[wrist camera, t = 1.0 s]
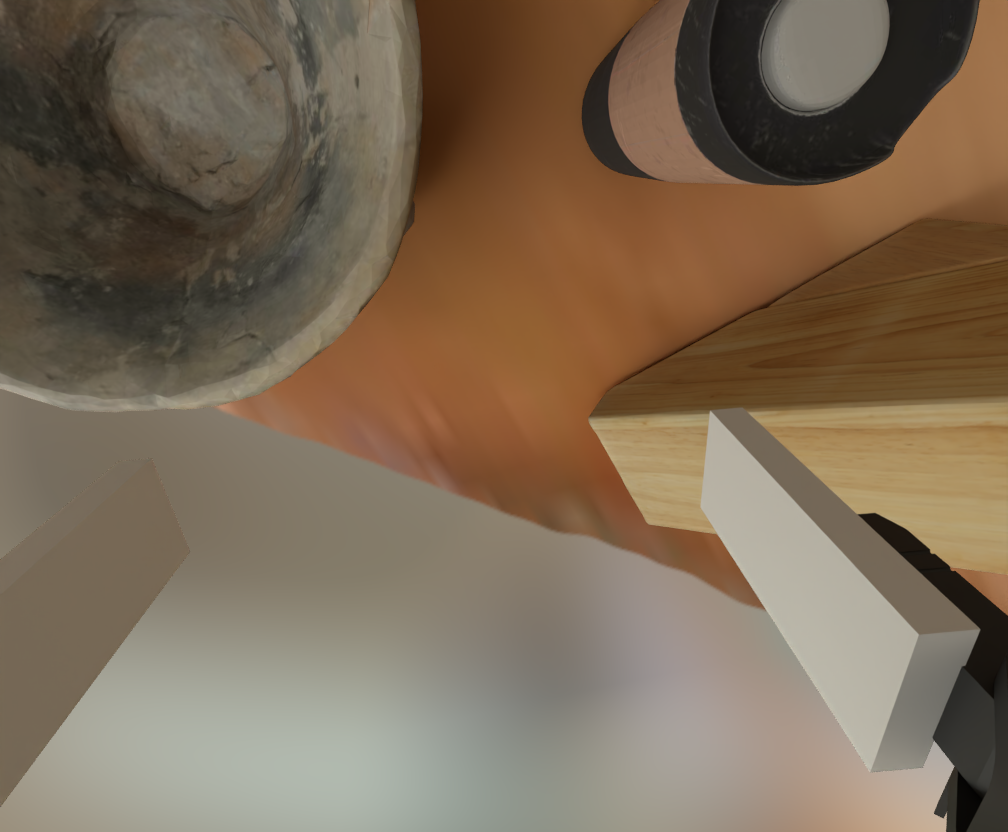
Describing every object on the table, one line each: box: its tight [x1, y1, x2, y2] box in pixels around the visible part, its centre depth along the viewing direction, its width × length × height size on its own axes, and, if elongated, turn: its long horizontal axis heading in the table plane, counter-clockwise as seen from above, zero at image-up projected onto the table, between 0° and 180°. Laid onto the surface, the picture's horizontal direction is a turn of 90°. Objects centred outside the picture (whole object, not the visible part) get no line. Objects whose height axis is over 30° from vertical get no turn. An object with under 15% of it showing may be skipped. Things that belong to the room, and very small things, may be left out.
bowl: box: [0, 0, 423, 412], centre depth 25 cm, size 27×26×15 cm
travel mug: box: [582, 0, 980, 186], centre depth 24 cm, size 8×8×20 cm
